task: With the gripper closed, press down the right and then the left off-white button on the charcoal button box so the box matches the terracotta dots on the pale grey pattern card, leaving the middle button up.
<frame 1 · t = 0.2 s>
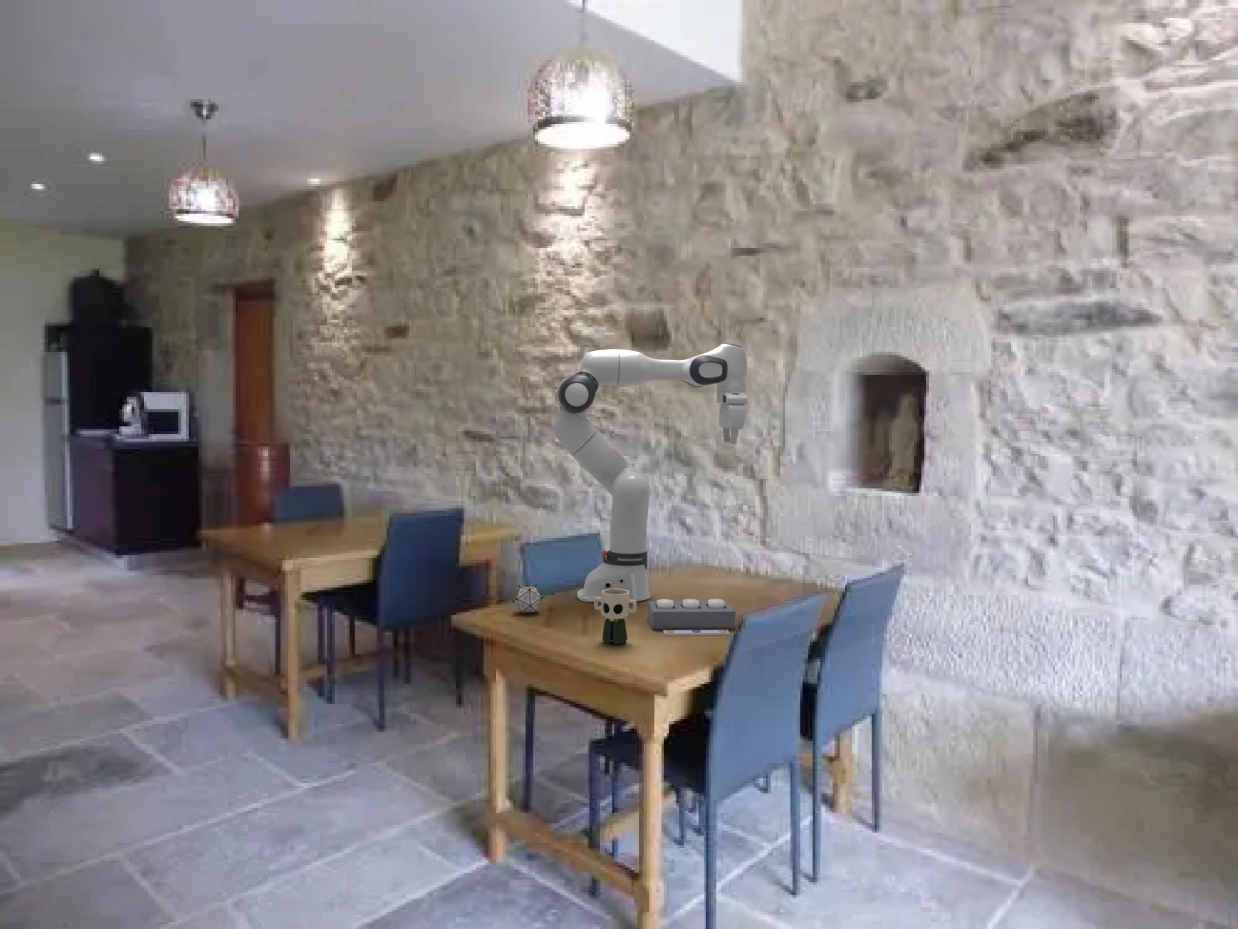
hand: (730, 443, 273), 48 cm above the table, tool pointing down, fingers open, 8 cm apart
button box: (690, 624, 243), on the table
white spiked icosahedron: (528, 614, 252), on the table
right button: (716, 606, 243), point 5 cm above the table, slide at 0.0 cm
character mug: (614, 643, 224), on the table
pattern card: (696, 633, 233), on the table
left button: (665, 606, 241), point 5 cm above the table, slide at 0.0 cm
middle button: (690, 606, 242), point 5 cm above the table, slide at 0.0 cm
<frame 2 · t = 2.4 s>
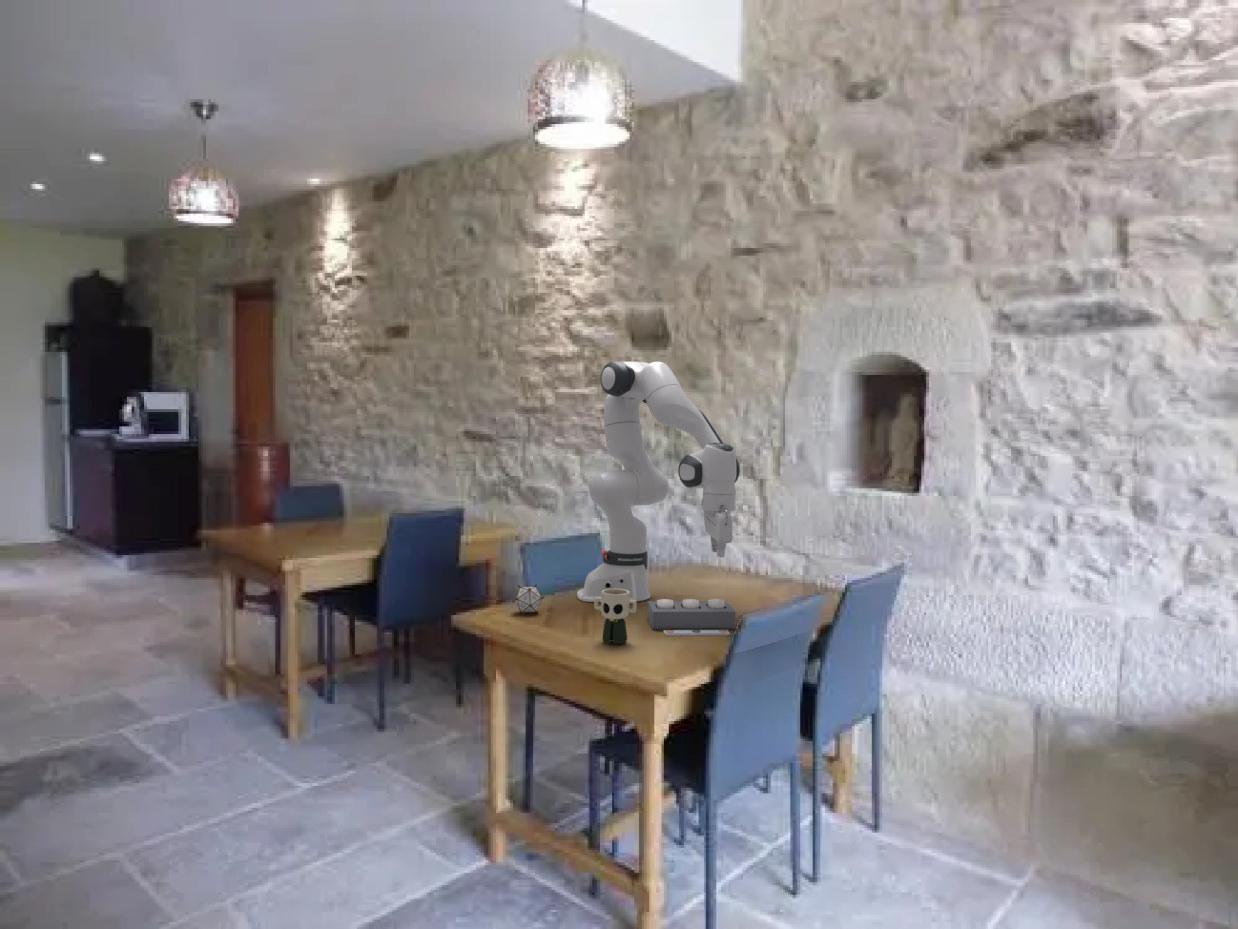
hand: (717, 554, 242), 19 cm above the table, tool pointing down, fingers open, 6 cm apart
nothing on the table moved.
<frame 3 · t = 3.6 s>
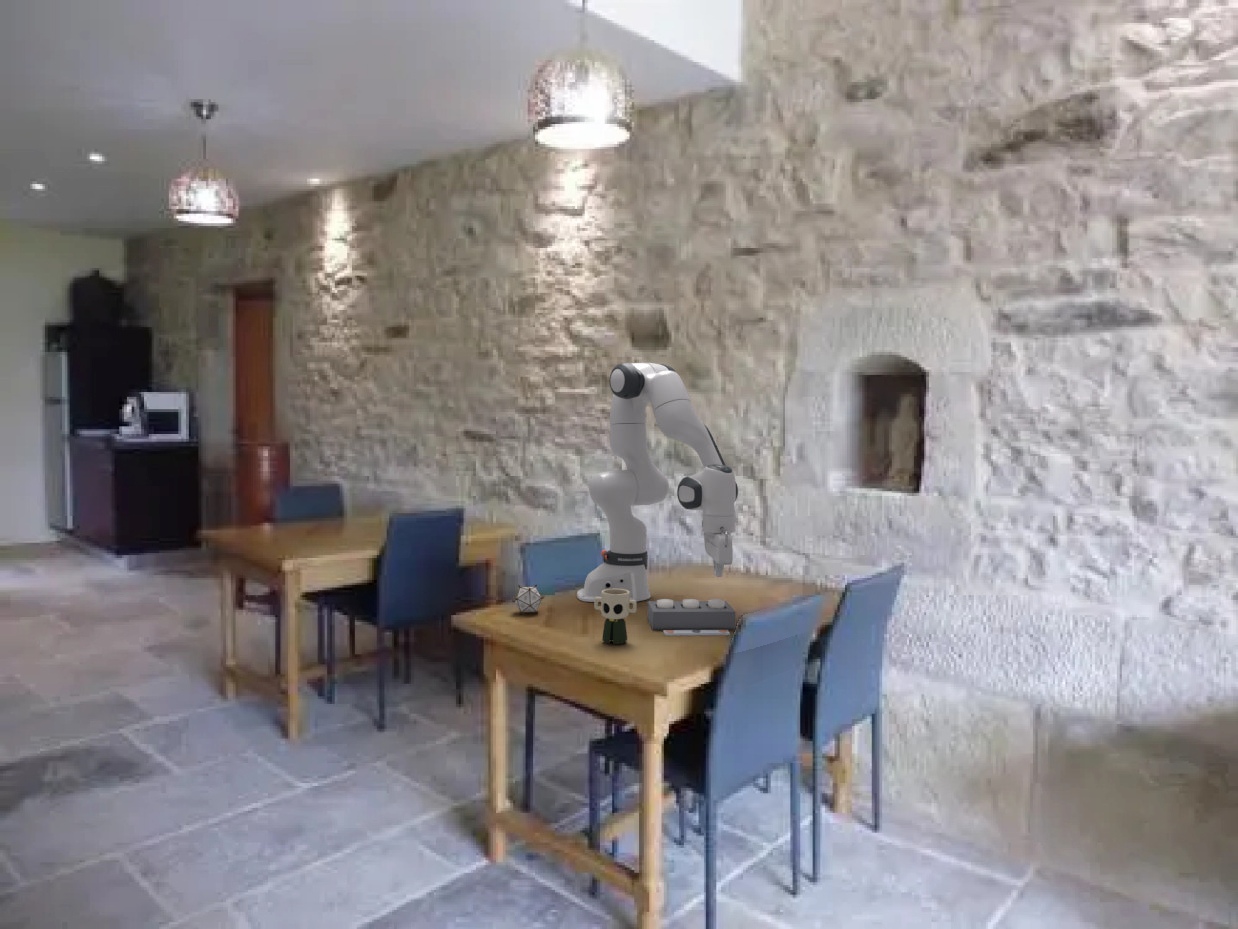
hand: (718, 576, 242), 13 cm above the table, tool pointing down, fingers closed
nothing on the table moved.
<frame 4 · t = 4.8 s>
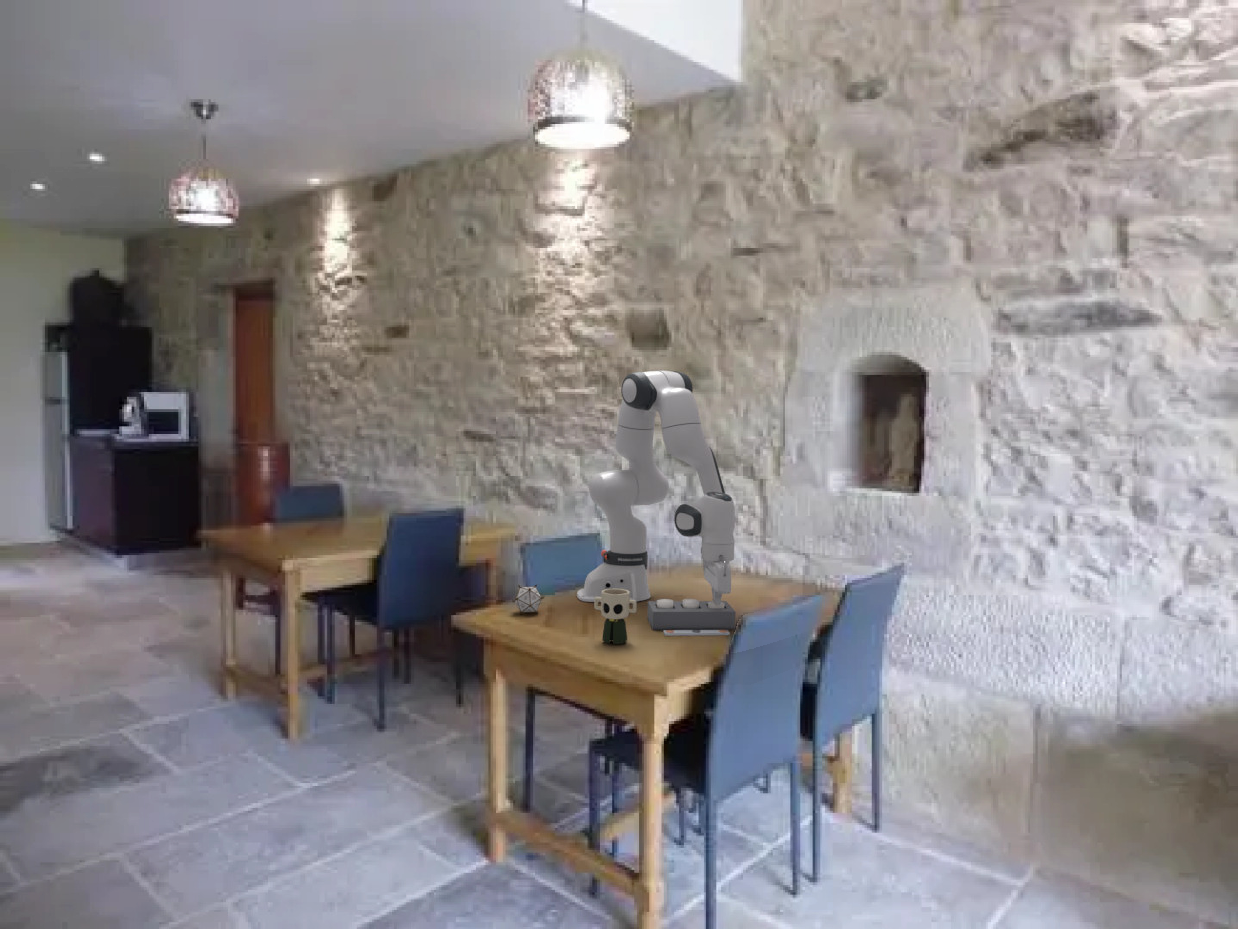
hand: (716, 603, 242), 6 cm above the table, tool pointing down, fingers closed, pressing on right button
right button: (716, 608, 243), point 4 cm above the table, slide at 0.7 cm, touching gripper
everything else where it was.
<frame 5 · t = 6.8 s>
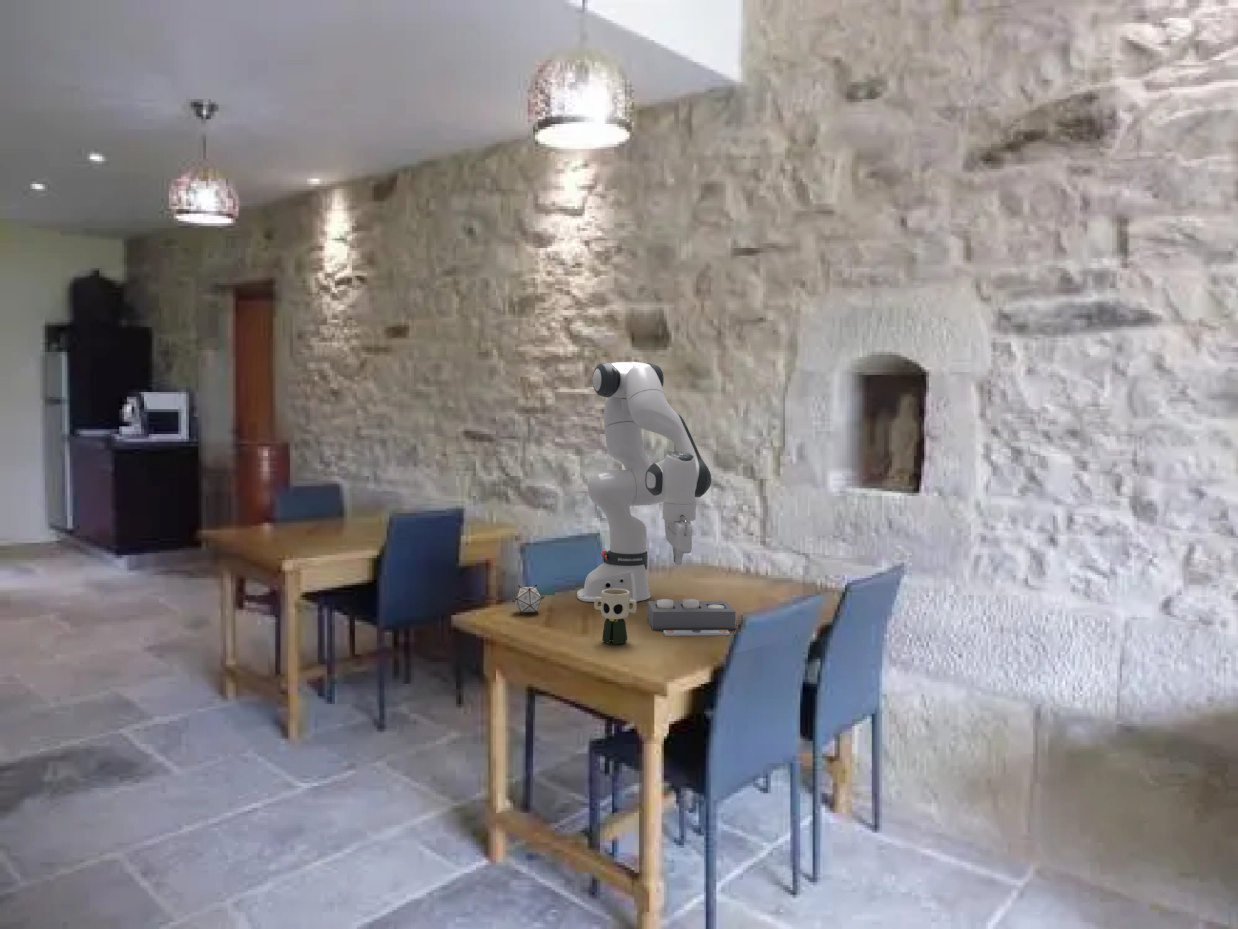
hand: (677, 563, 241), 17 cm above the table, tool pointing down, fingers closed
right button: (716, 611, 243), point 3 cm above the table, slide at 1.6 cm
everything else where it was.
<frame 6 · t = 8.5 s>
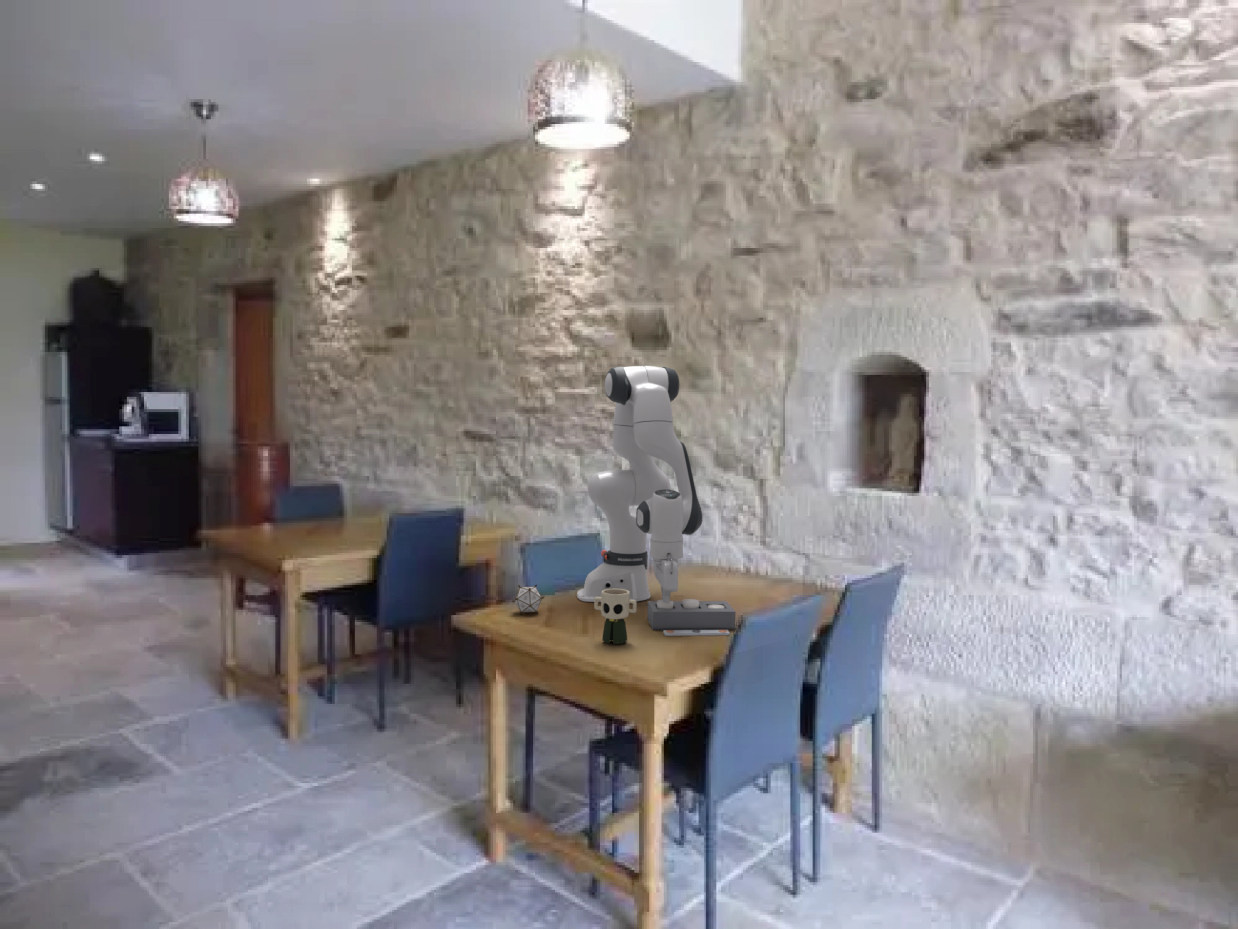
hand: (665, 601, 241), 6 cm above the table, tool pointing down, fingers closed, pressing on left button
left button: (665, 606, 241), point 5 cm above the table, slide at 0.1 cm, touching gripper
everything else where it was.
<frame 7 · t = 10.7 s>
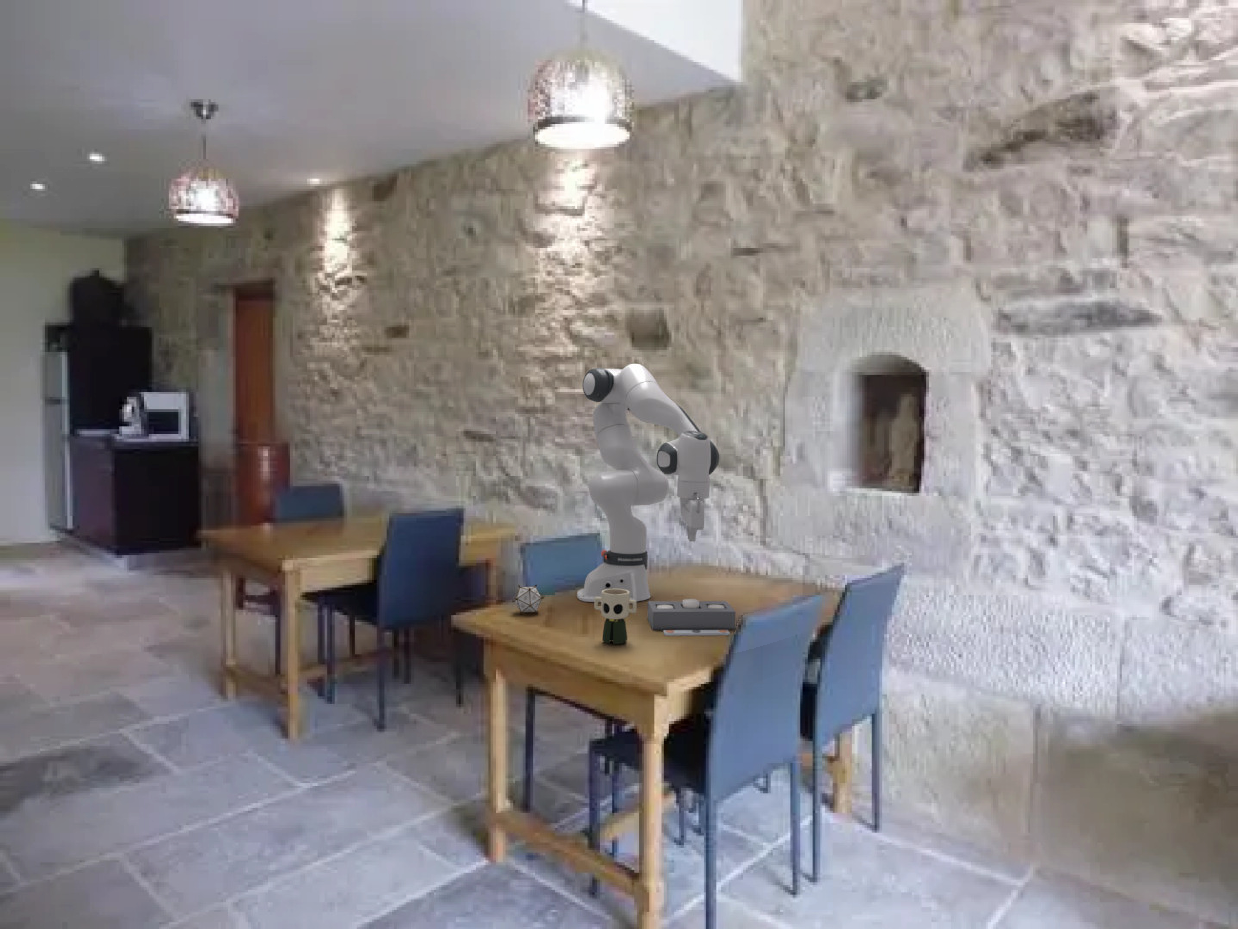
hand: (691, 540, 247), 22 cm above the table, tool pointing down, fingers closed
left button: (665, 612, 242), point 3 cm above the table, slide at 1.6 cm
everything else where it was.
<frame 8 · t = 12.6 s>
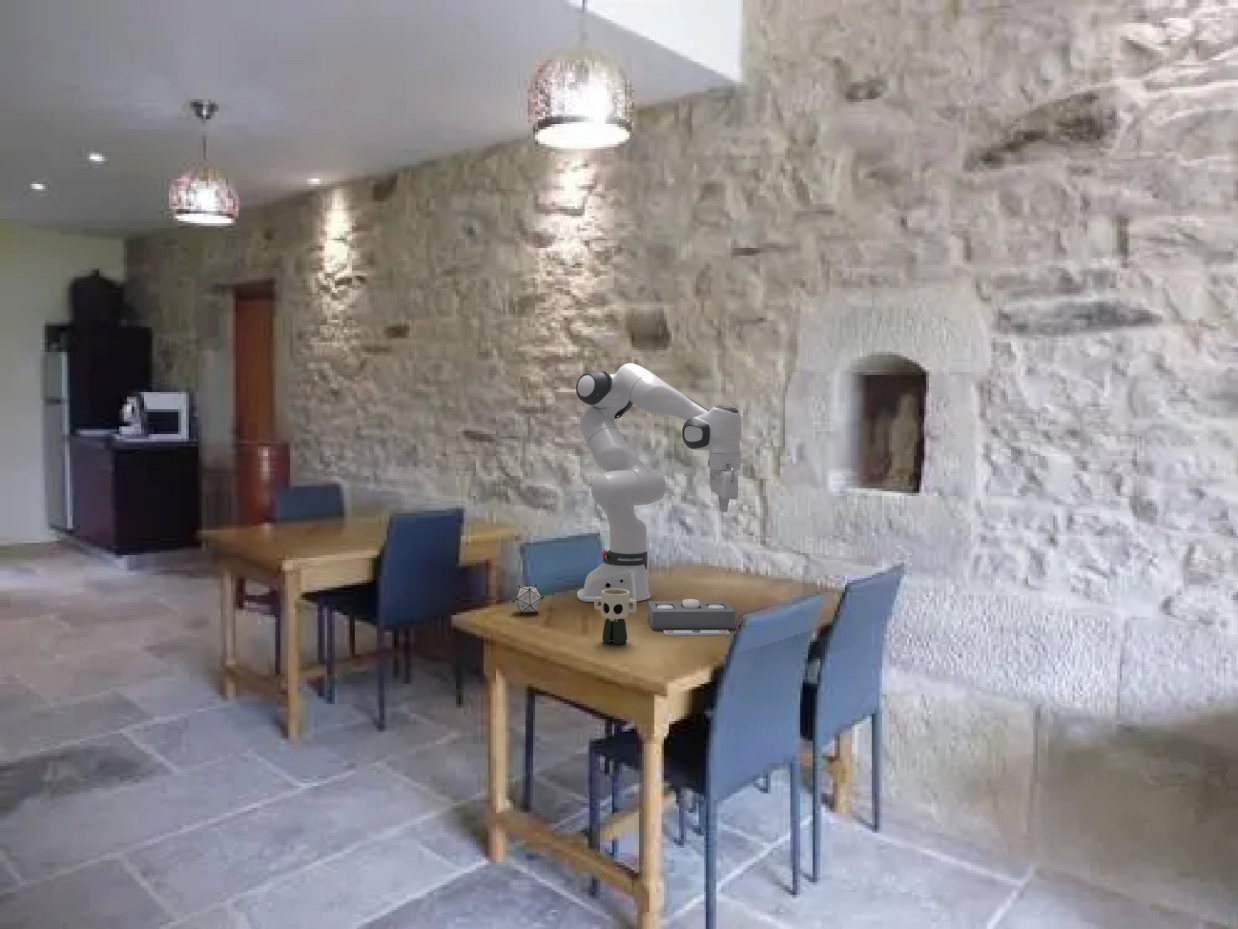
hand: (723, 511, 254), 29 cm above the table, tool pointing down, fingers closed
nothing on the table moved.
at the end: right button slide at 1.6 cm; left button slide at 1.6 cm; middle button slide at 0.0 cm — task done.
